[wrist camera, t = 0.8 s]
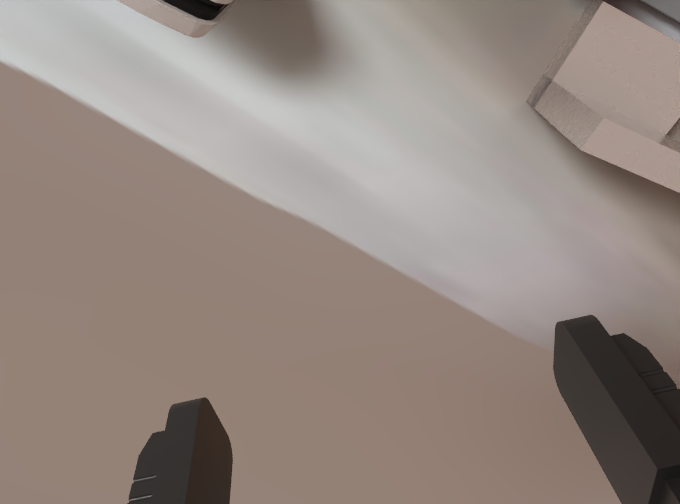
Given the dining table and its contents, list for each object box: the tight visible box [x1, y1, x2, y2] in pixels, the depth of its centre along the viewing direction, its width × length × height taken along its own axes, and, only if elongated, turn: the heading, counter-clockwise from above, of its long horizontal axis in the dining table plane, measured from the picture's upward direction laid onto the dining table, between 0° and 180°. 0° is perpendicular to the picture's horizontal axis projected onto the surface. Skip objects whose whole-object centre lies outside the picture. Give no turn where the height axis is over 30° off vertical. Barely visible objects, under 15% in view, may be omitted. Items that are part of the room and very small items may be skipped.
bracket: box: [526, 0, 680, 193], centre depth 32 cm, size 10×7×8 cm
